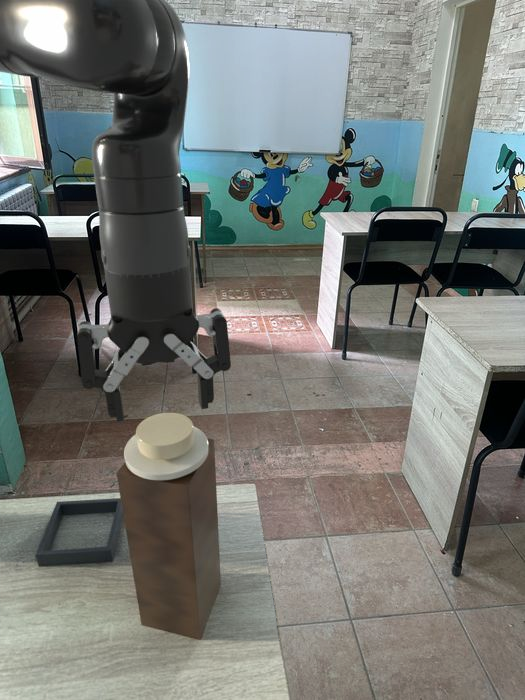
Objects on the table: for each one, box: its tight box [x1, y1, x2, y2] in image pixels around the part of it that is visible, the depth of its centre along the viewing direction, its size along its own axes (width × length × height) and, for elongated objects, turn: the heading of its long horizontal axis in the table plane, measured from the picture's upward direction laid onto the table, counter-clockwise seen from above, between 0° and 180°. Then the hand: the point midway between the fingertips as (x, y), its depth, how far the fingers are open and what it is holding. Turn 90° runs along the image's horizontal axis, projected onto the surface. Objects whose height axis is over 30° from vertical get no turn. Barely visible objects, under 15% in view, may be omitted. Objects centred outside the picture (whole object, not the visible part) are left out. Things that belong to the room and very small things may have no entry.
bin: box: [35, 497, 124, 568], centre depth 73 cm, size 10×10×4 cm
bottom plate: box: [123, 425, 209, 480], centre depth 52 cm, size 9×9×1 cm
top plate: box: [135, 412, 195, 460], centre depth 51 cm, size 6×6×2 cm
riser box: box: [116, 437, 222, 641], centre depth 58 cm, size 8×8×26 cm
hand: (162, 411), depth 50 cm, fingers open, 8 cm apart
